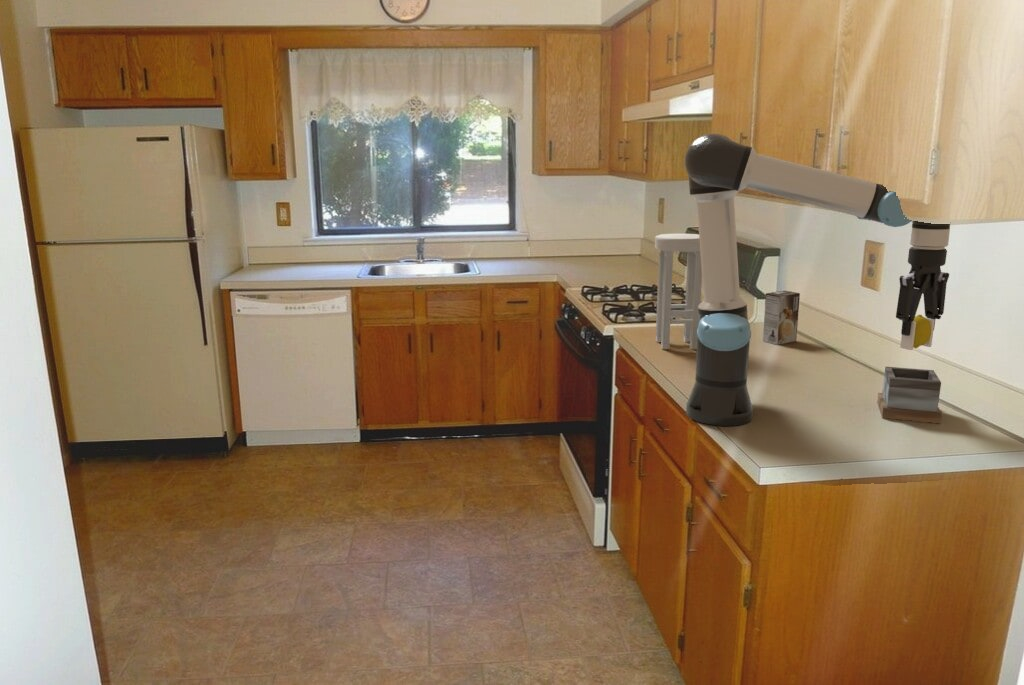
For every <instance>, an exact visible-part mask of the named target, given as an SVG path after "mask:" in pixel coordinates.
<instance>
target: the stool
mask: <svg viewBox="0 0 1024 685" xmlns="http://www.w3.org/2000/svg"><path fill="white" fill-rule="evenodd" d="M654 249H656V250H657V251H658V272H657V295H656V296H657V297H656V300H657V301H656V320H655V321H656V324H655V329H656V330H655V342H656V341H657V342H661V343H660V348H662V349H669V350H670V341H671V340H670V338H671V337H670V336H671V325H673V324H674V325H680V324H681V325H682V324H683V342H684V343H689V349H690V350H697V339H698V336H697V329H698V325H699V313H698V305H699V304H700V303H701V302H702V289H703V281H702V267H701V253H700V239H699V233H661V234H658V235H656V236H655V238H654ZM675 252H677V253H685V252H686V253H687V258H686V261H687V262H686V276H685V277H686V278H685V279H686V281H685V283H686V284H685V298H684V299H685V301H684V302H685V304H683V303H680V304H679V303H678V304H677V303H674V304H673V303H672V295H673V294H672V293H673V292H672V291H673V268H674V253H675ZM673 318H677V319H673ZM678 318H679V319H678ZM680 318H681V319H680ZM683 318H684V319H683ZM657 342H656V343H657ZM662 349H661V350H662Z"/></svg>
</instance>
